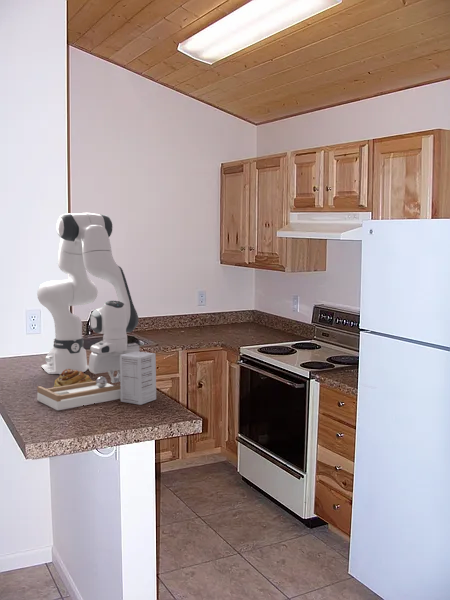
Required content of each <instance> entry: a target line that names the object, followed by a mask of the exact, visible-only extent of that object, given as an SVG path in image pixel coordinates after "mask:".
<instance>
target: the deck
mask: <svg viewBox="0 0 450 600" xmlns="http://www.w3.org/2000/svg"><path fill="white" fill-rule="evenodd" d="M36 390H37V391H36V392H37V393H36V395H37V401H38V402H40V403H42V404H43V405H46V406H48V407H50V408H52V409H54V410H55V411H61V410H68V409H73V408H77V407H78V408H79V407H84V406H87V405H89V406H90V405H94V403H95V404H100V403H104V402H110V401H115V400H121V390H120V384H118V385H114V384H110V383H108V382H107V384H106V386H105V387H103V388H100V387H98V386H97V385H96V380H92V381H90V382H84V383H78V384H72V385H66V386H60V387H54V386H53V387H49V388H45V387H43V386H41V385H39V386H37V387H36ZM83 405H84V406H83Z"/></svg>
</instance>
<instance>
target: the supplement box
mask: <svg viewBox="0 0 450 600" xmlns="http://www.w3.org/2000/svg"><path fill="white" fill-rule="evenodd" d="M156 354H157V353H153V352H146V351H139V352H138V351H134V352H130V353H127V354H123V355H120V383H119V385H120V390H121V399H120V402H123V403H128V404H134V405H139V406H142V405H144V404H147V403H149V402H152V401H155V400H157V365H156V364H157V360H156Z"/></svg>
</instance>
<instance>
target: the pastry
mask: <svg viewBox="0 0 450 600" xmlns="http://www.w3.org/2000/svg"><path fill="white" fill-rule="evenodd" d="M90 381H93V379H92V378H91V377H90V375H88V374H86V373H84V372H82V371H78V370H73V369H66V370H64V371H63V372H62V373H61V374H59V376H58V377H57V378H56V379H55V380H54V385H53V387H60V386H66V385H72V384H78V383H84V382H90Z"/></svg>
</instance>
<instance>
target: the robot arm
mask: <svg viewBox="0 0 450 600" xmlns="http://www.w3.org/2000/svg"><path fill="white" fill-rule="evenodd" d="M56 233H57V235H58V236H59V238H60V242H59V249H58V259H57V265H58V268H59V270H60V271H61V272H63V273H65V274H67V275H68V279H62V280H61V279H59V280H50V281H45V282H43V283H41V284H40V285H39V287H38V289H37V293H36V294H37V299H38V301H39V303H40V304H41V305H42V306H43V307H45V308H46V309H47V310H48V312H49V313H50V314H51V316H52V318H53V323H54V330H55V331H54V334H55V335H54V336H55V338H54V339H53V348H52V349H50V351H49V352H48V353H46V354H47V355H46V356H45V358H44V360H45V362H46V363H45V364H41V367H42V368H43V369H44V372H46V373H47V374H49V375H61V373H62V372H63V371H64V370H66V369H73V370H78V371H82V372H83V373H84V372H87V371H88V370H89V372H90V373H92V374H94V375H97V374H103V373H107V374H108V375H109V377H110V382H111V383H112V384H114V383H119V382H120V355H123V354H127V353H130V352H134V351H138V352H141V351H140V350H141V349H140V345H139V344H138V343H136V342H132V343H128V335H127V333H132V332H133V331H134V330H135V329H136V328H137V326H138V325H139V316H138V315H139V314H138V312H137V310H136V308H135V306H134V303H133V299H132V296H131V292H130V289H129V286H128V282H127V279H126V276H125V273H124V270H123V268H122V267H121V266H120V265H118V264H117V262H116V261H115V259H114V256H113V252H112V245H111V241H110V237H111V235H112V234H113V222H112V219H111V218H110V217H109V215H106V214H103V213H99V214H98V213H91V212H82V213H63V214H61V215H60V216H59V217H58V219H57V221H56ZM88 273H89V274H90V275H92V276H93V277H94V278H95V277H96V278H98V279H102V280H104V281H106V282H108V283H110V284H111V285H112V286H113V287H114V289H115V293H116V296H117V299H118V300H108V301H105V302H104V304H103V305H102V306H101V307H99V308H96V309H94V310H93V311H92V312H91V314H90V315H89V326H90V329H91V330H92V331H93V332H94V333H96V334H103V336H102V340H100V341H99V342H96V343H95V344H92V345H91V346H90V351H91V353H90V354H89V359H87V350H86V349H85V348H84V343H85V342H84V337H83V322H82V319H81V318H80V317H79V316H78V315H76V314H74V313H71V310H70V307H74V306H84V305H88V304H91V303H94V302H95V301H96V300H97V297H98V293H99V292H98V287H97V285H96V283H95V282H94V281H93V280H92V279H90V278H89V276H88ZM41 367H40V368H41ZM42 368H41V369H42ZM43 369H42V370H43ZM115 372H116V373H117V374H116V376H115V375H114V374H115Z"/></svg>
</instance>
